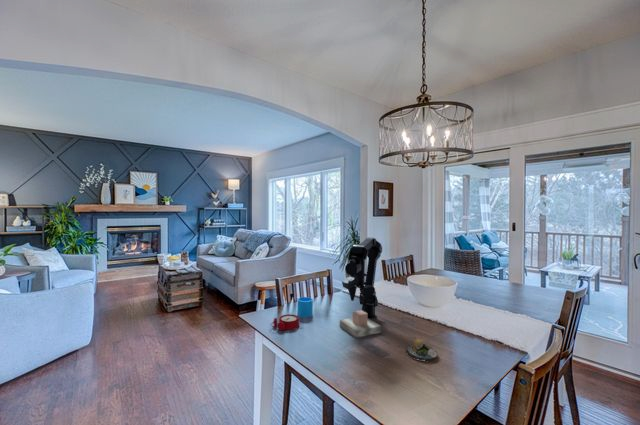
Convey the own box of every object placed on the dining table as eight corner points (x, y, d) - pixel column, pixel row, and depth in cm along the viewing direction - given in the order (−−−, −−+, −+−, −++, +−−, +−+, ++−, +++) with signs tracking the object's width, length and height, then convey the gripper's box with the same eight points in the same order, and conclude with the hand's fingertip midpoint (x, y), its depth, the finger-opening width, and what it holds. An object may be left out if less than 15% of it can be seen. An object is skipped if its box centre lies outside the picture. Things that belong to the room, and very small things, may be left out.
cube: (361, 320, 142) (361, 310, 142) (367, 324, 138) (367, 313, 138) (352, 321, 140) (352, 311, 140) (358, 325, 135) (358, 315, 135)
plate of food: (434, 366, 108) (434, 346, 108) (402, 357, 114) (403, 338, 114) (440, 352, 118) (440, 334, 118) (410, 345, 124) (411, 327, 124)
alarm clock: (305, 319, 140) (278, 318, 132) (303, 332, 140) (275, 332, 131) (294, 312, 149) (268, 311, 140) (292, 325, 148) (265, 324, 140)
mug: (314, 316, 154) (315, 300, 154) (300, 318, 151) (300, 302, 151) (307, 308, 165) (307, 294, 165) (293, 310, 162) (293, 295, 162)
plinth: (363, 321, 148) (363, 315, 148) (380, 332, 136) (380, 326, 136) (339, 326, 142) (339, 320, 142) (355, 337, 129) (355, 331, 129)
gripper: (334, 268, 144) (333, 300, 144) (356, 277, 127) (355, 312, 128) (352, 267, 149) (352, 297, 149) (376, 274, 133) (375, 308, 133)
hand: (357, 303), depth 140 cm, fingers open, 9 cm apart
